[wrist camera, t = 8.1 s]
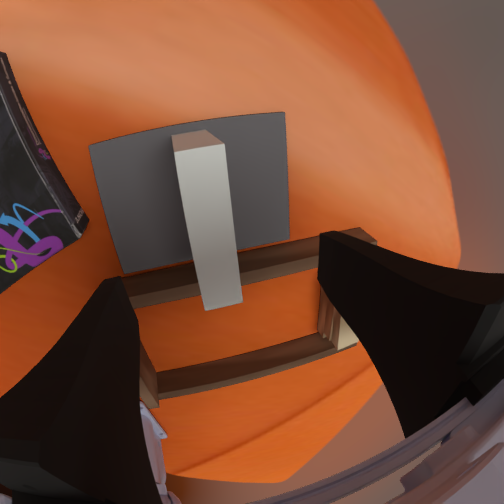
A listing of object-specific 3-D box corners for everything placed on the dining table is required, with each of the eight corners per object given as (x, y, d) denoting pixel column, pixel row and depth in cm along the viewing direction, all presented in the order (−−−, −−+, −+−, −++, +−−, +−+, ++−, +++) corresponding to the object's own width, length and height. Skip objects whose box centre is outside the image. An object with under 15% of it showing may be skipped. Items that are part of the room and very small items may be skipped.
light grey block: (220, 247, 20) (243, 302, 15) (192, 253, 20) (205, 311, 15) (205, 129, 16) (224, 143, 11) (171, 135, 16) (174, 152, 11)
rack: (344, 329, 29) (363, 355, 26) (150, 380, 25) (152, 414, 22) (359, 227, 23) (388, 250, 20) (101, 282, 19) (93, 318, 16)
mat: (287, 236, 22) (289, 238, 21) (124, 271, 19) (124, 274, 19) (282, 112, 17) (284, 112, 17) (90, 144, 15) (88, 145, 14)
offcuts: (338, 322, 28) (356, 347, 25) (315, 329, 28) (332, 356, 25) (349, 245, 24) (374, 268, 21) (321, 251, 23) (344, 276, 20)
